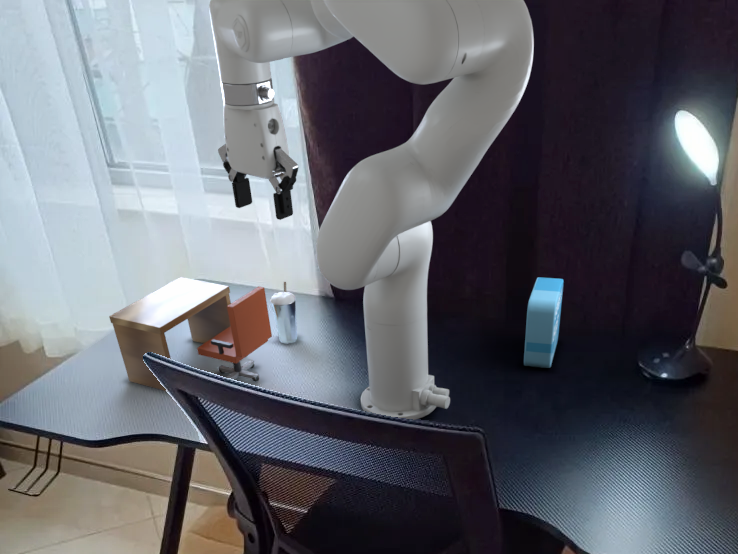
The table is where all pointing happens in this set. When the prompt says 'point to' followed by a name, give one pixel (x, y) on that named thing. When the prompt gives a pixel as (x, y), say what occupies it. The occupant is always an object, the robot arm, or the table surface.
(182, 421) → the table surface
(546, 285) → the data package
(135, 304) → the desk
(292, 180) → the robot arm
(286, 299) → the milkshake
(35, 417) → the table surface
